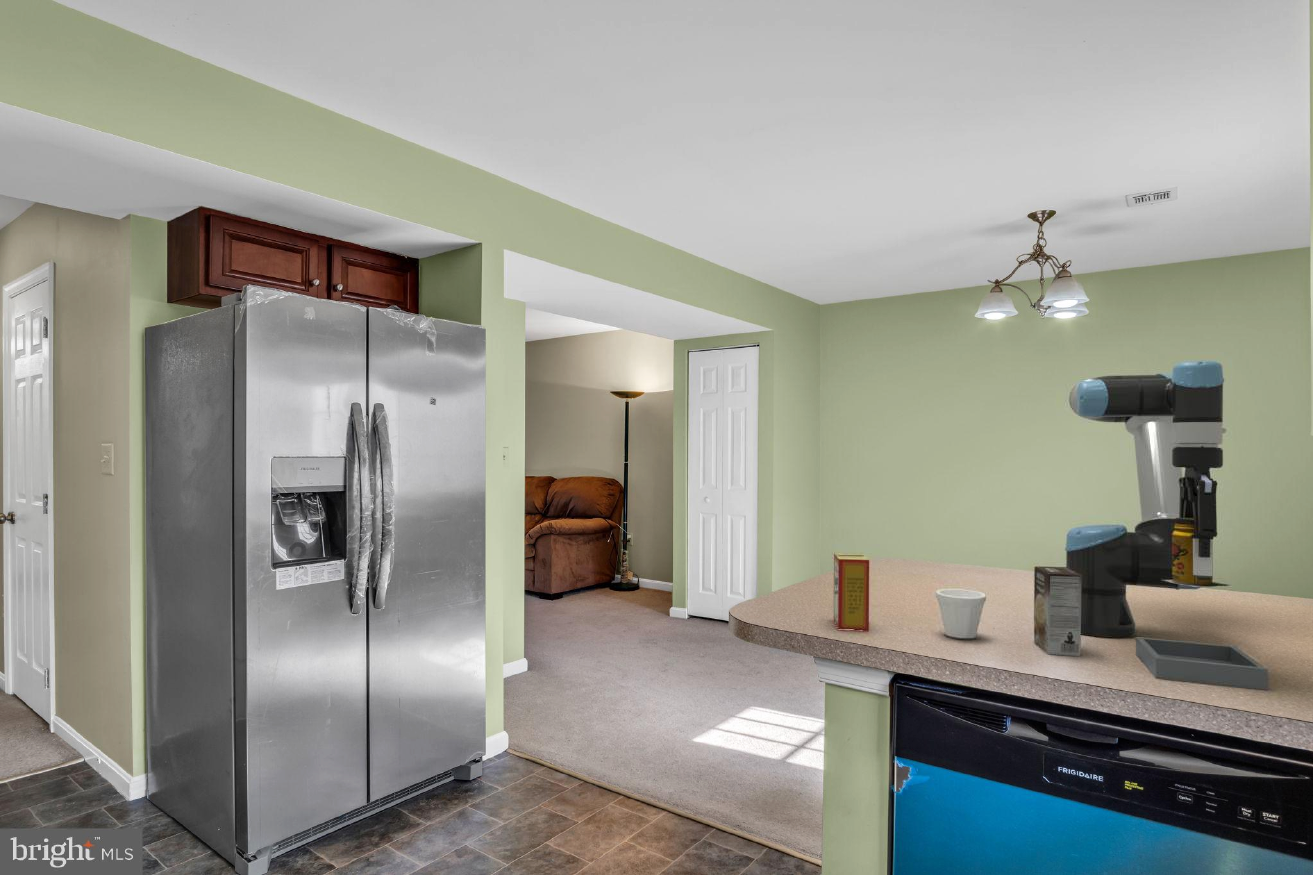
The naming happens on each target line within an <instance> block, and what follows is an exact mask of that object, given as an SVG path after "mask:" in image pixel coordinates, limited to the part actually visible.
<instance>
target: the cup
mask: <svg viewBox="0 0 1313 875" xmlns="http://www.w3.org/2000/svg"><path fill="white" fill-rule="evenodd" d="M935 597H936V600H937V602H938V606H939V610H940V615H941V620H942V623H943V624H942V625H943V629H944V634H945V636H946V637H948V638H950V637H951V639H954V638H955V640H961V639H962V640H965V641H966V640H973V639H976V638H977V633H978V629H979V625H980V622H981V617H982V613H983V609H984V605H985V603H986V600H987V595H986V594H984V593H983V592H980V591H977V590H971V589H962V588H961V589H960V588H942V589H937V591H935Z"/></svg>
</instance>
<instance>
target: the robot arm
mask: <svg viewBox="0 0 1313 875" xmlns="http://www.w3.org/2000/svg"><path fill="white" fill-rule="evenodd" d="M1223 373H1224V372H1223V365H1222V364H1221V363H1220V362H1217V361H1210V360H1208V361H1207V360H1205V361H1204V360H1202V361H1201V360H1198V361H1186V362H1179V363H1177V364H1175V365H1174V366H1173V368H1172V374H1164V373H1156V374H1136V375H1134V374H1133V375H1132V374H1131V375H1104V376H1097V377H1092V378H1089V379H1086V380H1082V381H1080V382H1079V383H1078V384H1076V385H1075V386H1074V387H1073V388H1072V389H1071V392H1070V394H1069V398H1068V399H1069V400H1068V401H1069V405H1070V408H1071V410H1072V411H1073V412H1074V413H1075V414H1076V415H1078V416H1079V417H1081V418H1083V419H1087V420H1090V421H1091V420H1092V421H1096V422H1103V423H1124V424H1125V429H1126V431H1127V432H1128V433H1129V434H1131V435H1133V439H1134V448H1135V450H1134V451H1135V452H1134V453H1135V461H1136V472H1137V483H1138V493H1139V505H1140V513H1141V514H1140V516H1141V521H1140V522H1138V523H1137V524H1135V526H1134V531H1133V532H1131V531H1128V528H1127V526H1125V525H1123V524H1095V525H1085V526H1077V527H1074V528H1071V529H1070V530H1069V531H1067V534H1066V542H1065V543H1066V544H1065V547H1064V550H1065V551H1066V554H1065V555H1066V556H1065V557H1066V558H1065V560H1066V562H1065V567H1067V568H1069V569H1070V570H1072V571H1074V572H1076V573H1078V574H1080V575H1082V578H1081V635H1085V636H1092V637H1100V638H1115V639H1116V638H1130V637H1134V636H1135V635H1136V623H1135V619H1134V616H1133V614H1132V611H1131V608H1130V605H1129V602H1128V600H1127V599H1128V598H1127V586H1138V587H1146V588H1147V587H1149V588H1159V589H1160V588H1161V589H1162V588H1163V589H1171V590H1174V589H1175V590H1178V591H1179V590H1198V589H1201V588H1202V587H1193V586H1188V585H1181V584H1176V583H1171V582H1168V581H1164V580H1173V577H1172V565H1173V564H1172V534H1173V532H1174V531H1175V528H1174V527H1175V518H1181V517H1182V518H1194V528H1195V535H1194V534H1192V535H1191V536H1190V537H1191V538H1193V575H1201V576H1212V539H1213V540H1214V539H1215V538H1216V537H1217V536H1218V529H1217V528H1218V526H1217V525H1218V524H1217V523H1218V521H1217V518H1218V517H1217V489H1218V487H1217V486H1218V482H1217V480H1214V479H1213V478H1212V477H1211V471H1210V469H1220V468H1222V467H1223V465H1224V450H1223V449H1222V447H1219V445H1222V444H1223V434H1226V433H1227V429H1226V428H1225V427H1224V426H1223V422H1224V420H1223V417H1224V416H1223V414H1224V411H1223V410H1224V406H1223V405H1224V383H1225V379H1224V375H1223ZM1183 468H1184V469H1185V470H1184V476H1183Z"/></svg>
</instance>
